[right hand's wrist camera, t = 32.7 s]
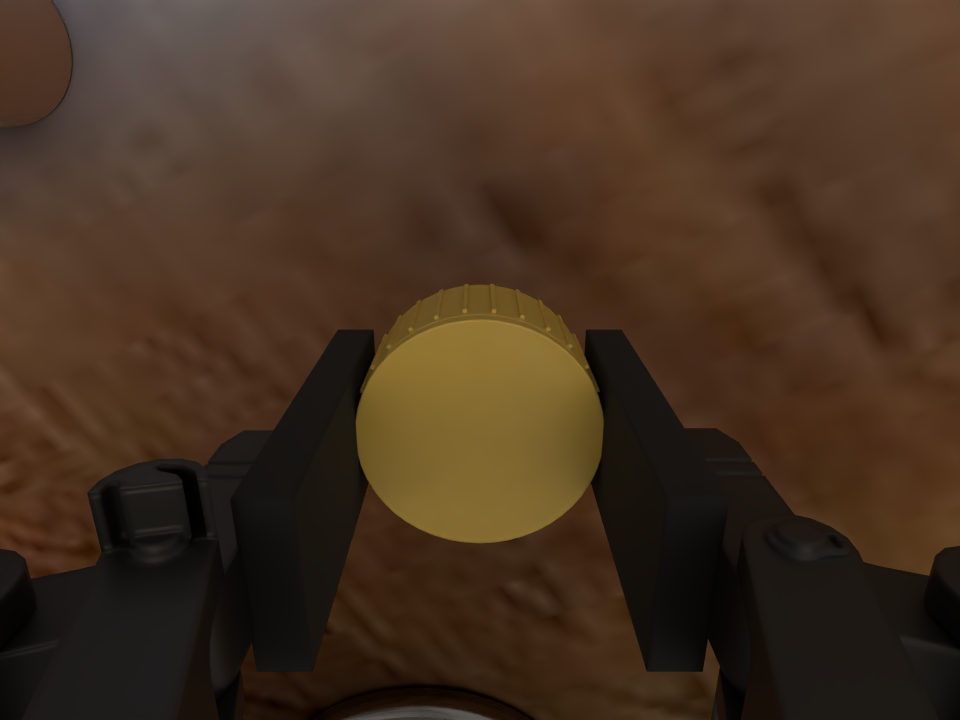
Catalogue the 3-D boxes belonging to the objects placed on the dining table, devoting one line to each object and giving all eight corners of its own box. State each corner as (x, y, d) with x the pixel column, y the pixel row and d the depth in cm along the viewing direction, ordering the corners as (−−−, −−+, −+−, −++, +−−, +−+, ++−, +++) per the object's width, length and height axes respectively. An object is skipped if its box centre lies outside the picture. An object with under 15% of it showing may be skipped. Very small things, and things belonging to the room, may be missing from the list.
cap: (330, 402, 15) (301, 457, 12) (460, 235, 13) (456, 262, 11) (495, 514, 16) (498, 585, 13) (631, 370, 14) (661, 420, 12)
